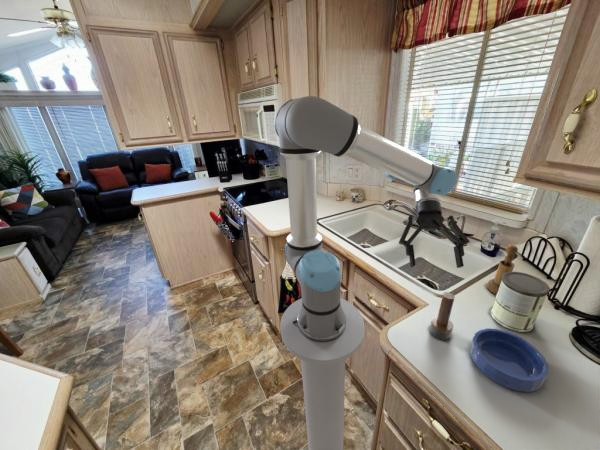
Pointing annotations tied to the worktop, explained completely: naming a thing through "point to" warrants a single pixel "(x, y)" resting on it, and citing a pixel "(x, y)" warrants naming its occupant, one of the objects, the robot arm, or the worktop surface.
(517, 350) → the bowl
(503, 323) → the coffee can
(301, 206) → the robot arm
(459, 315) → the worktop surface
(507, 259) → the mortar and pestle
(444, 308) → the brush
